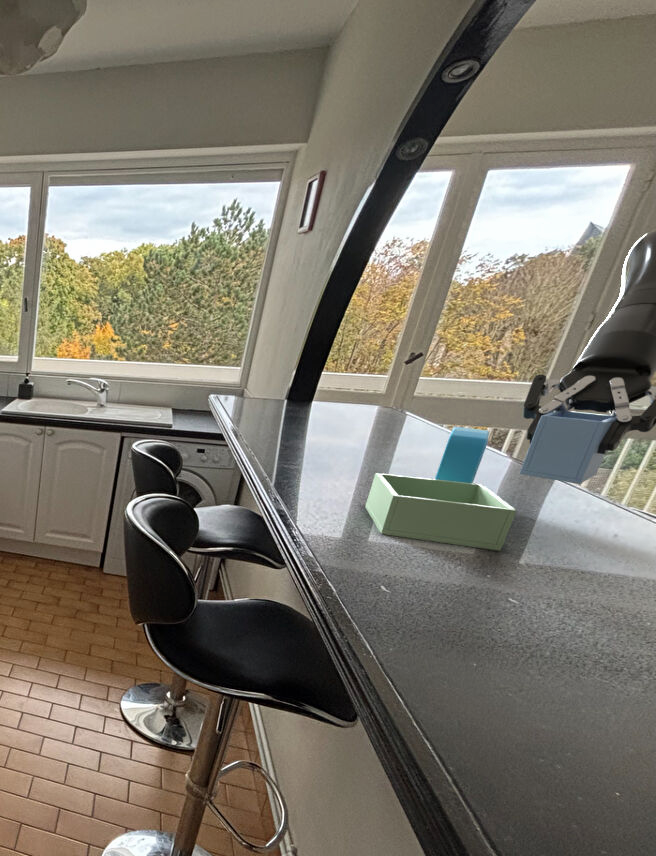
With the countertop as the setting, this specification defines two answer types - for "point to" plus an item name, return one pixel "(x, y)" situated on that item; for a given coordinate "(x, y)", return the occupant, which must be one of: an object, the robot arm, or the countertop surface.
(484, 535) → the green tote
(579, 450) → the small bin
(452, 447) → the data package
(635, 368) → the robot arm
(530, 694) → the countertop surface
